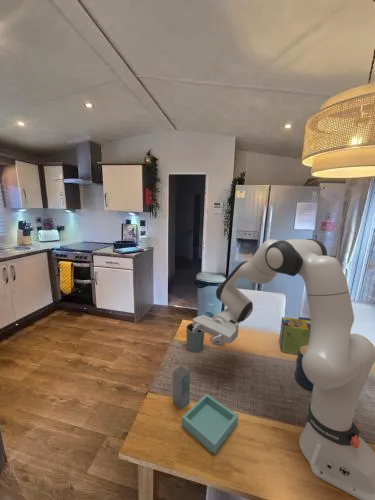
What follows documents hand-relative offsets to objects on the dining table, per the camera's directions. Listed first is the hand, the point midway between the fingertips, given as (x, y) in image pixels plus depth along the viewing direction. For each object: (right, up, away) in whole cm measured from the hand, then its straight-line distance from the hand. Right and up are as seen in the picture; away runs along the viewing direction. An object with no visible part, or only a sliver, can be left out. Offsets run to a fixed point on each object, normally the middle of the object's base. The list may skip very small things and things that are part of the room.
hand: (202, 335), depth 96 cm
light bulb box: (+12, -17, +39) cm, 44 cm away
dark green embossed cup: (-2, -18, +31) cm, 36 cm away
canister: (+49, -24, +9) cm, 55 cm away
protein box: (+53, -19, +32) cm, 64 cm away
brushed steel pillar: (-9, -25, -4) cm, 27 cm away
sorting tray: (+2, -27, -13) cm, 30 cm away
